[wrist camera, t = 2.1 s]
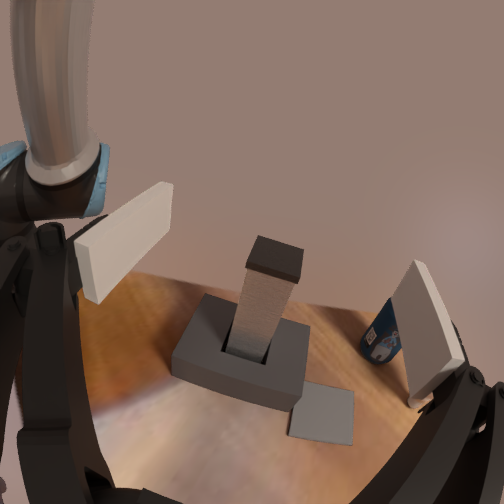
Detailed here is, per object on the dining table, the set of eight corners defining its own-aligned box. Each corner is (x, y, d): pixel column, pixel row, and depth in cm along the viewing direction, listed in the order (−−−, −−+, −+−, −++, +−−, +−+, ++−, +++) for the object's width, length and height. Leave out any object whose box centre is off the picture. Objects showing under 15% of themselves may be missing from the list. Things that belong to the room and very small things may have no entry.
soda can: (382, 337, 47) (416, 290, 40) (394, 366, 41) (434, 320, 34) (352, 336, 46) (385, 286, 39) (363, 368, 40) (403, 319, 33)
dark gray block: (171, 375, 33) (171, 355, 30) (202, 315, 43) (205, 293, 40) (288, 412, 32) (301, 396, 29) (299, 346, 42) (310, 326, 39)
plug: (218, 369, 35) (246, 260, 25) (228, 343, 40) (258, 235, 29) (254, 380, 35) (300, 277, 25) (261, 353, 39) (303, 249, 29)
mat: (287, 435, 29) (288, 435, 29) (297, 380, 36) (298, 379, 36) (350, 445, 28) (352, 444, 28) (352, 392, 36) (354, 391, 36)
